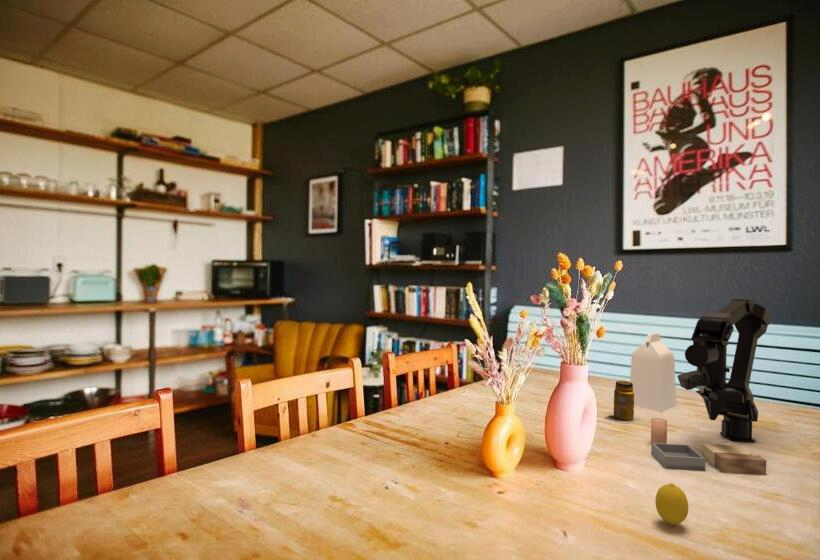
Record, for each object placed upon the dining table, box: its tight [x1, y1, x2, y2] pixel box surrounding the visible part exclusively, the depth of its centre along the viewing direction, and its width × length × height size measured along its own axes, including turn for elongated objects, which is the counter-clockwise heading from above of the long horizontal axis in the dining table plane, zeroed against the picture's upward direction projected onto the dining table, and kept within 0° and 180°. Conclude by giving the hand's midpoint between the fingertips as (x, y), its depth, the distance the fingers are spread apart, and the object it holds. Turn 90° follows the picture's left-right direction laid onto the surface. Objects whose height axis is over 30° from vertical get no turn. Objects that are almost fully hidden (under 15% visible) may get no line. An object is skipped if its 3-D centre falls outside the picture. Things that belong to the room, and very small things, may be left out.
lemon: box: [655, 482, 689, 526], centre depth 91 cm, size 6×6×8 cm
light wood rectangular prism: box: [700, 443, 753, 468], centre depth 120 cm, size 9×6×4 cm, turn 82°
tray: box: [650, 442, 707, 472], centre depth 121 cm, size 9×9×3 cm
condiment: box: [604, 380, 640, 425], centre depth 156 cm, size 7×8×12 cm
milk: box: [629, 332, 677, 413], centre depth 171 cm, size 12×12×26 cm
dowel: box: [650, 417, 668, 444], centre depth 133 cm, size 4×4×7 cm
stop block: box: [714, 453, 767, 476], centre depth 116 cm, size 10×3×4 cm, turn 83°
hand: (712, 419), depth 129 cm, fingers closed
